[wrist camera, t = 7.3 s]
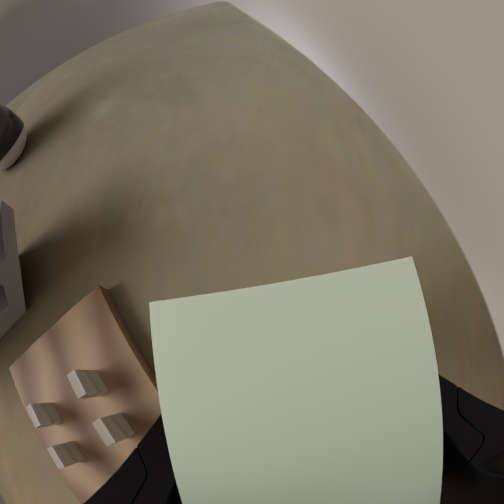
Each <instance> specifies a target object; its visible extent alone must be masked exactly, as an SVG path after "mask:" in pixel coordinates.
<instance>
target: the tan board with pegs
mask: <svg viewBox="0 0 504 504" xmlns="http://www.w3.org/2000/svg"><path fill="white" fill-rule="evenodd" d="M9 369H10V372H11V375H12V377H13V380H14V383H15V386H16V388H17V391H18V393H19V396H20V398H21V401H22V403H23V405H24V408H25V410H26V412H27V414H28V417H29V419H30V421H31V423H32V425H33V427H34V429H35V431H36V433H37V435H38V437H39V439H40V441H41V442H42V444H43V446H44V448H45V450H46V451H47V453H48V455H49V456H50V458H51V460H52V461H53V463H54V465H55V466H56V468H57V469H58V471H59V473H60V474H61V476H62V477H63V479H64V480H65V482H66V483H67V484H68V486H69V487H70V489H71V490H72V491H73V493H74V494H75V495H76V497H77V498H78V499H79V501H80V502H81V503H82V504H84V503H85V502H86V501H87V500H88V499H89V498H90V497H91V496H92V495H93V494H94V493H95V492H96V491H97V490H98V489H99V488H100V487H101V486H102V485H103V484H104V483H105V482H106V481H107V480H108V479H109V478H110V477H111V476H112V475H113V474H114V473H115V472H116V471H117V470H118V469H119V468H120V466H121V465H122V464H123V463H124V461H125V460H126V459H127V458H128V457H129V455H130V454H131V453H132V451H133V450H134V449H135V448H137V445H138V444H139V442H140V441H141V440H142V438H143V437H144V436H145V434H146V433H147V432H148V430H149V429H150V428H151V426H152V425H153V424H154V422H155V421H156V420H157V418H158V417H159V416H160V414H161V408H160V402H159V395H158V388H157V381H156V375H155V374H154V372H153V371H152V369H151V368H150V366H149V364H148V363H147V361H146V359H145V358H144V356H143V355H142V353H141V351H140V350H139V348H138V346H137V344H136V343H135V341H134V339H133V337H132V336H131V334H130V332H129V330H128V329H127V327H126V325H125V323H124V321H123V319H122V317H121V316H120V314H119V312H118V310H117V308H116V306H115V304H114V302H113V300H112V298H111V296H110V294H109V292H108V290H107V289H105V288H103V287H101V286H99V285H98V286H97V287H96V288H95V289H93V290H92V291H91V292H90V293H89V294H88V295H86V296H85V297H84V298H83V299H82V300H81V301H79V302H78V303H77V304H76V305H75V306H74V307H72V308H71V309H70V310H69V311H68V312H67V313H66V314H65V315H63V316H62V317H61V318H60V319H59V320H58V321H57V322H56V323H55V324H54V325H52V326H51V327H50V328H49V329H48V330H47V331H46V332H45V333H44V334H43V335H42V336H41V337H40V338H38V339H37V340H36V341H35V342H34V343H33V344H32V345H31V346H30V347H29V348H28V349H27V350H26V351H25V352H24V353H23V354H22V355H21V356H20V357H19V358H18V359H17V360H16V361H15V362H14V363H13V364H12V365H11V366H10V367H9Z"/></svg>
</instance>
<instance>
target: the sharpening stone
mask: <svg viewBox="0 0 504 504" xmlns="http://www.w3.org/2000/svg"><path fill="white" fill-rule="evenodd" d="M25 312H26V306H25V300H24V293H23V286H22V278H21V269H20V262H19V256H18V249H17V241H16V232H15V221H14V210H13V209H12V208H11V207H10V206H8V205H7V204H6V203H4V202H3V201H2V200H1V201H0V338H1V337H2V336H3V335H4V334H5V333H6V332H7V331H8V330H9V329H10V327H11V326H12V325H13V324H14V323H15V322H16V321H17V320H18V319H19V318H20V317H21V316H22V315H23V314H24V313H25Z"/></svg>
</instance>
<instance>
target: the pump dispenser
mask: <svg viewBox="0 0 504 504" xmlns="http://www.w3.org/2000/svg"><path fill="white" fill-rule="evenodd" d="M25 144H26V130H25V128H24V123H23V121H22V120H21V119H20V118H19V117H18V116H17V115H16V114H15V113H14V112H13V111H11V110H10V109H9V108H7V107H6V106H4V105H3V104H1V103H0V171H2V170H5V169H7V168H9V167H10V166H11V165H13V164H14V163H15V162H16V160H17V159H18V158H19V156H20V155H21V153H22V151H23V149H24V147H25Z"/></svg>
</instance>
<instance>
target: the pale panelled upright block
mask: <svg viewBox="0 0 504 504" xmlns="http://www.w3.org/2000/svg"><path fill="white" fill-rule="evenodd" d="M149 307H150V323H151V335H152V346H153V356H154V365H155V373H156V381H157V388H158V395H159V402H160V408H161V414H162V420H163V425H164V430H165V435H166V440H167V445H168V450H169V454H170V459H171V463H172V467H173V471H174V475H175V479H176V483H177V487H178V490H179V494H180V498H181V501H182V504H440V496H441V486H442V470H443V422H442V406H441V394H440V384H439V376H438V368H437V361H436V355H435V349H434V343H433V338H432V333H431V328H430V323H429V318H428V314H427V309H426V305H425V301H424V297H423V293H422V289H421V286H420V282H419V278H418V275H417V271H416V268H415V265H414V261H413V258H412V256H411V257H407V258H402V259H398V260H393V261H388V262H384V263H379V264H374V265H369V266H364V267H359V268H355V269H349V270H344V271H339V272H334V273H329V274H324V275H318V276H313V277H307V278H302V279H296V280H291V281H285V282H279V283H274V284H268V285H262V286H256V287H250V288H243V289H237V290H231V291H224V292H218V293H211V294H205V295H198V296H191V297H184V298H177V299H169V300H162V301H154V302H149Z"/></svg>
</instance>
